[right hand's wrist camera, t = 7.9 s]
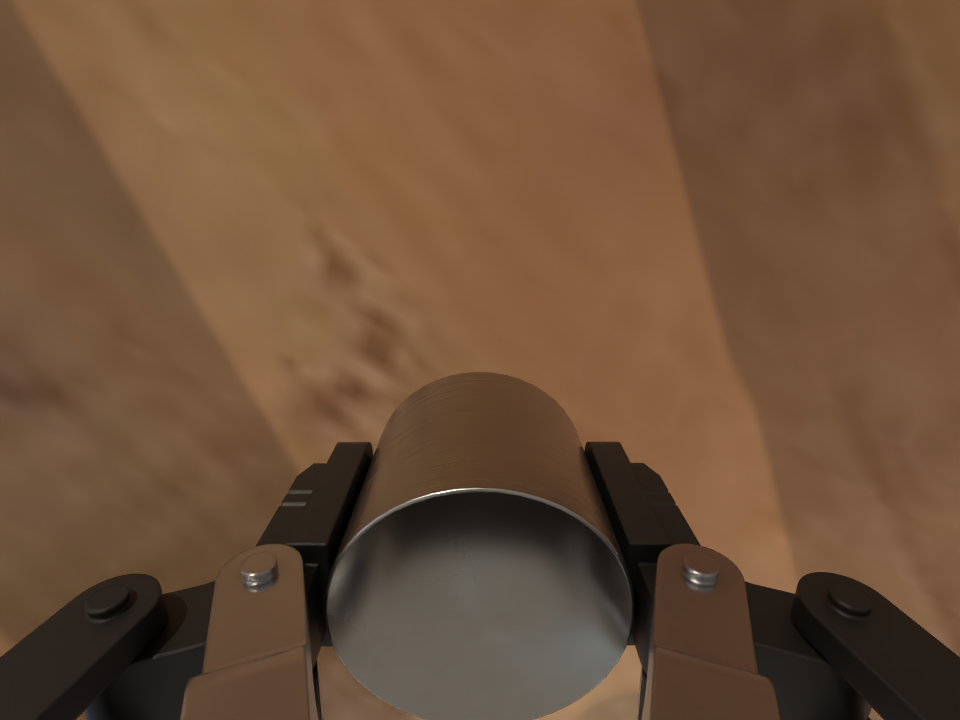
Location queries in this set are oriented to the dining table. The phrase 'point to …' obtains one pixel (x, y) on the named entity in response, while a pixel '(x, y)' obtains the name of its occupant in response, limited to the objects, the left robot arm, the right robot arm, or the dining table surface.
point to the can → (479, 559)
